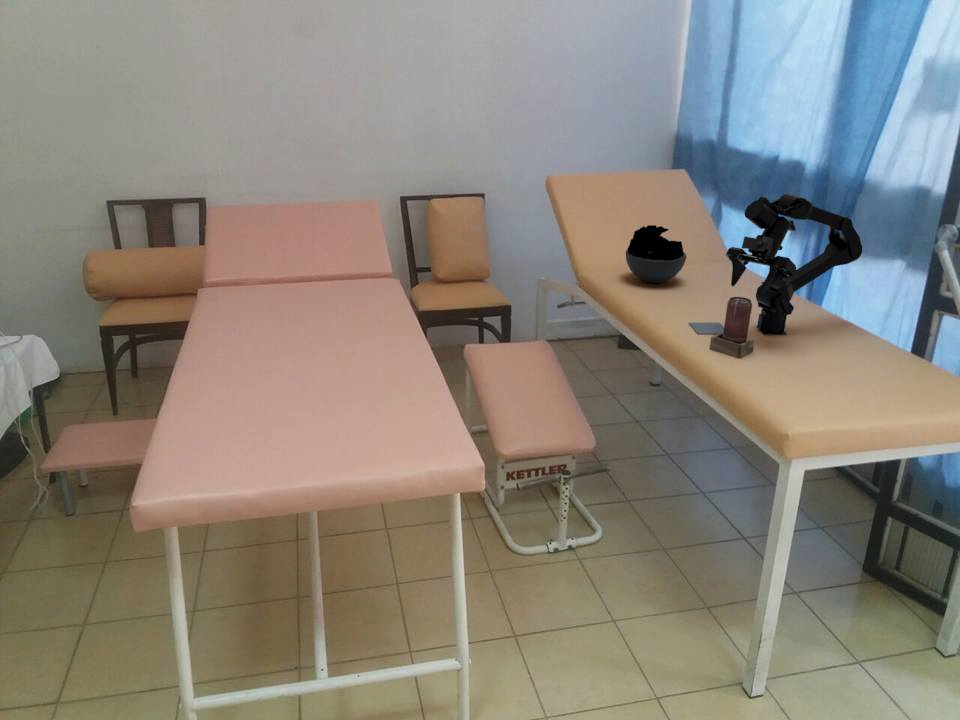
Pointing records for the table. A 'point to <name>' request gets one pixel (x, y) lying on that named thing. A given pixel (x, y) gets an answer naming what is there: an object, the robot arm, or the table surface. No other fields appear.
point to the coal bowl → (654, 255)
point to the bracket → (731, 346)
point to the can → (737, 320)
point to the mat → (707, 328)
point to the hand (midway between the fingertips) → (746, 289)
